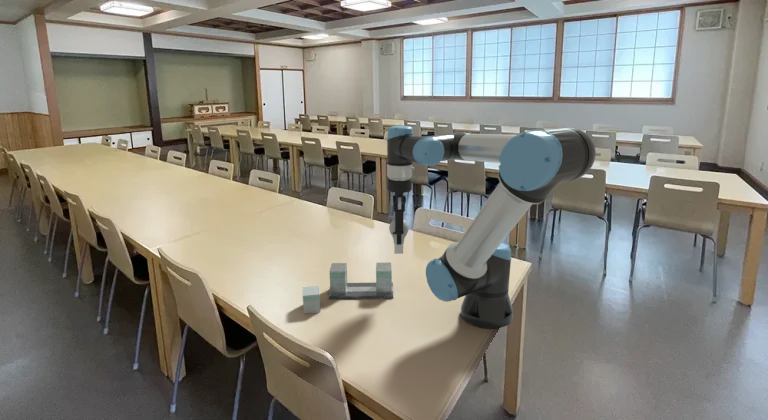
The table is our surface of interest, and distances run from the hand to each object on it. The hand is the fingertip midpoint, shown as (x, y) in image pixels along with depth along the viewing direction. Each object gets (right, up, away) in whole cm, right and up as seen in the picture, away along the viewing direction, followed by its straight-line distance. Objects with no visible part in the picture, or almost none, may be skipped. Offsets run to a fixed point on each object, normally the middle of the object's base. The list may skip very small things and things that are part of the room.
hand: (398, 249), depth 141 cm
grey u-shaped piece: (-12, -15, +8) cm, 21 cm away
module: (-27, -18, -3) cm, 33 cm away
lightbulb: (0, -1, 0) cm, 1 cm away
